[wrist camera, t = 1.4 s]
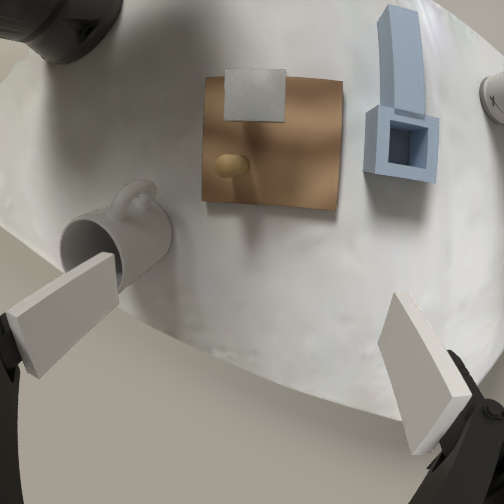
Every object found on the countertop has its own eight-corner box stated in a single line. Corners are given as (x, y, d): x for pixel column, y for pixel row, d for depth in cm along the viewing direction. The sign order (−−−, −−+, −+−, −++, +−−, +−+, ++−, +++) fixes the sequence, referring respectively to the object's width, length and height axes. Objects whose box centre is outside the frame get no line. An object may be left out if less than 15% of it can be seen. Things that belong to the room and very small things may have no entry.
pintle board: (209, 80, 28) (185, 61, 21) (340, 84, 26) (352, 64, 19) (205, 199, 32) (180, 211, 25) (334, 208, 31) (344, 223, 24)
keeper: (239, 85, 27) (221, 65, 20) (288, 86, 26) (286, 65, 19) (237, 128, 28) (218, 120, 21) (287, 130, 27) (284, 121, 20)
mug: (156, 275, 36) (111, 317, 26) (106, 240, 36) (52, 269, 26) (198, 194, 32) (154, 213, 22) (140, 158, 32) (81, 164, 22)
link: (416, 179, 28) (435, 183, 23) (362, 171, 29) (374, 173, 24) (415, 31, 22) (431, 16, 18) (363, 19, 23) (372, 0, 18)
